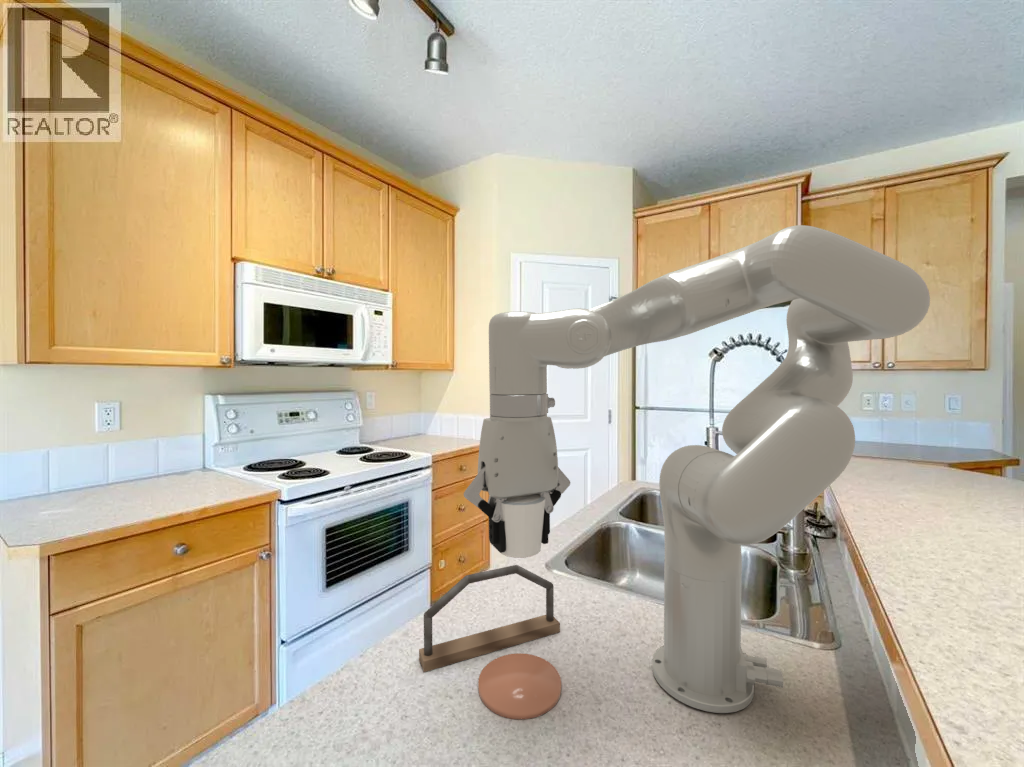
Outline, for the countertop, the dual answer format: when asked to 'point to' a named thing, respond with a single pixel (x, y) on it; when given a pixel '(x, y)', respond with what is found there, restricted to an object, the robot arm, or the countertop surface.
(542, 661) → the coaster
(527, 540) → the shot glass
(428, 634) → the arched handle
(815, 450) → the robot arm
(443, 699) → the countertop surface
